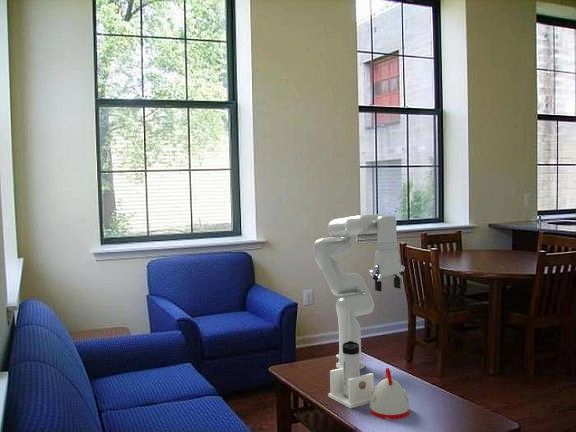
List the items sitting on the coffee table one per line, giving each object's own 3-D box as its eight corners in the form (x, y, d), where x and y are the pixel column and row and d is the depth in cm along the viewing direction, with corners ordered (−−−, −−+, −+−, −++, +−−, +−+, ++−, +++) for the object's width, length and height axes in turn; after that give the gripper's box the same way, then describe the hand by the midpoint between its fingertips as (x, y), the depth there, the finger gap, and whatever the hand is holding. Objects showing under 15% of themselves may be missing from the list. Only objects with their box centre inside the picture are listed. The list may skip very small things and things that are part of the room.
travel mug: (359, 392, 217) (358, 340, 216) (360, 399, 211) (359, 345, 210) (343, 392, 218) (342, 340, 217) (343, 398, 211) (342, 345, 210)
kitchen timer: (405, 403, 209) (404, 363, 208) (413, 418, 195) (412, 376, 194) (367, 404, 209) (366, 364, 208) (372, 420, 195) (371, 377, 194)
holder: (328, 396, 217) (327, 370, 217) (353, 389, 223) (352, 364, 223) (350, 408, 205) (350, 380, 205) (376, 401, 211) (376, 374, 211)
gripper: (397, 244, 233) (398, 285, 234) (363, 247, 224) (364, 290, 225) (410, 245, 227) (410, 288, 228) (376, 249, 218) (377, 293, 219)
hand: (387, 289), depth 227 cm, fingers open, 9 cm apart
